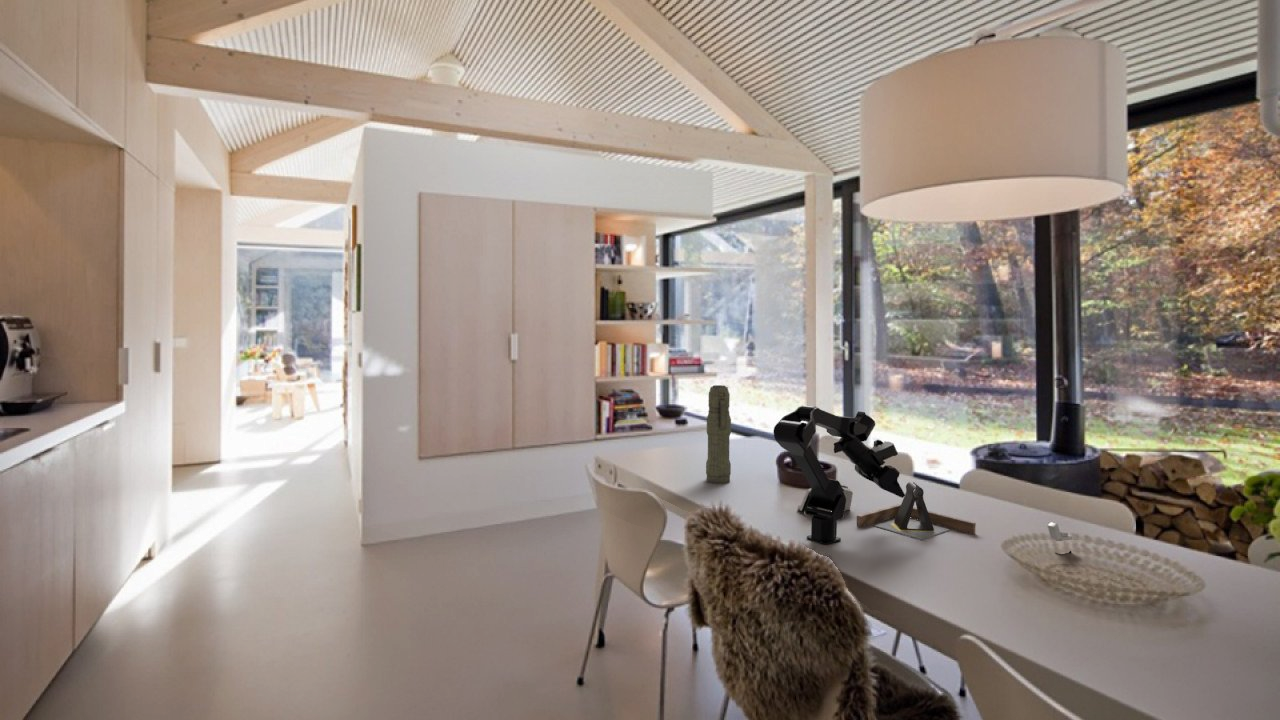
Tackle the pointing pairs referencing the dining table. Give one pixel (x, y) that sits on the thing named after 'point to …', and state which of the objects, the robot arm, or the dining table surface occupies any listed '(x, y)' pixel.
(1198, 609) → the dining table surface
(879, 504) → the dining table surface
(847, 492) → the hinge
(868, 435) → the robot arm
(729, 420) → the green stone statue
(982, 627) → the dining table surface
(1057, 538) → the grey l-shaped piece
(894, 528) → the mat
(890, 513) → the corner walls
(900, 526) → the dark grey a-frame stand
